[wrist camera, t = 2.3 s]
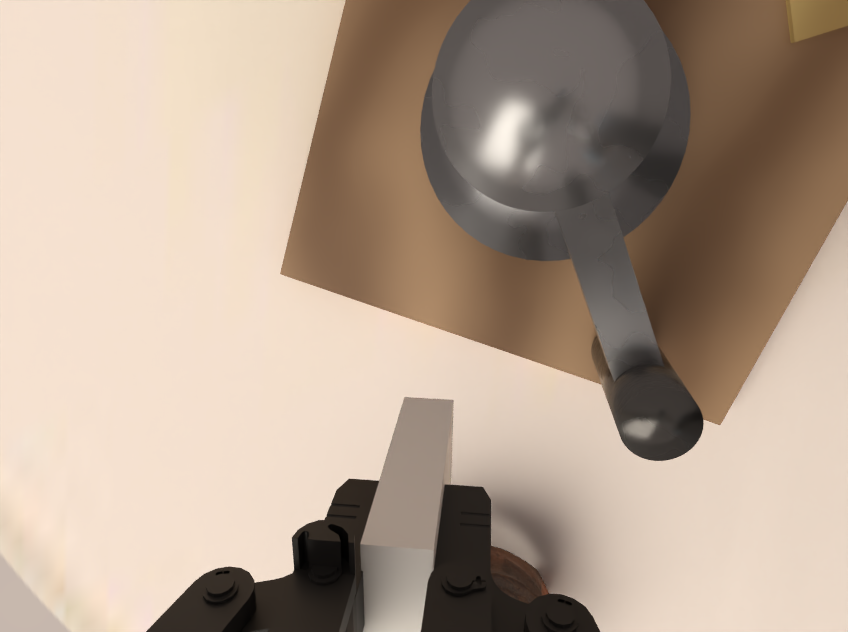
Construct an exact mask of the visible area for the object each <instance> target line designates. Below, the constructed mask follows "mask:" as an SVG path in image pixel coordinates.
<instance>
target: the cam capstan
mask: <svg viewBox="0 0 848 632" xmlns="http://www.w3.org/2000/svg"><path fill="white" fill-rule="evenodd" d="M690 117H691V111H690V95H689V90H688V85H687V80H686V76H685V73H684V70H683V67H682V64H681V61H680V59H679V57H678V55H677V53H676V51H675V49H674V47H673V45H672V43H671V42H670V40H669V39H668V38H667V36H666V35H665V33H664V32H663V31H662V29H661V27H660V25H659V23H658V21H657V19H656V17H655V15H654V14H653V12H652V11H651V9H650V8H649V7H648V5H647V4H646V2H645V1H644V0H471V1H470V2H469V3H467V5H466V6H465V7H464V8H463V10H462V11H461V12H460V13H459V15H458V16H457V17H456V19H455V21H454V22H453V24H452V25H451V27H450V29H449V30H448V32H447V34H446V36H445V39H444V41H443V43H442V45H441V48H440V51H439V54H438V57H437V60H436V64H435V69H434V71H433V73H432V75H431V78H430V80H429V84H428V87H427V90H426V93H425V96H424V102H423V107H422V112H421V126H420V136H421V150H422V155H423V161H424V166H425V169H426V172H427V175H428V178H429V181H430V183H431V186H432V188H433V190H434V192H435V194H436V196H437V198H438V199H439V201H440V203H441V204H442V206H443V207H444V209H445V210H446V212H447V213H448V214H449V215H450V216H451V218H452V219H453V220H454V221H455V222H456V223H457V224H458V225H459V226H460V227H461V228H462V229H463V230H464V231H465V232H467V233H468V234H469V235H470V236H472V237H473V238H475V239H476V240H477V241H479V242H480V243H482V244H484V245H486V246H488V247H490V248H492V249H493V250H495V251H498V252H501V253H504V254H506V255H509V256H513V257H517V258H521V259H526V260H536V261H560V260H566V259H571V261H572V264H573V267H574V270H575V273H576V276H577V278H578V281H579V284H580V287H581V290H582V293H583V296H584V299H585V302H586V305H587V307H588V310H589V313H590V316H591V319H592V322H593V325H594V328H595V331H596V334H597V335H596V336H595V338H594V340H593V343H592V347H591V355H592V359H593V362H594V365H595V367H596V370H597V373H598V376H599V379H600V381H601V384H602V387H603V390H604V392H605V395H606V398H607V401H608V403H609V406H610V409H611V412H612V415H613V417H614V420H615V423H616V426H617V428H618V431H619V434H620V437H621V439H622V441H623V443H624V444H625V446H626V447H627V448H628V449H629V450H630V451H631V452H633V453H634V454H635V455H637V456H639V457H642V458H644V459H648V460H654V461H663V460H670V459H674V458H677V457H679V456H681V455H683V454H685V453H686V452H688V451H689V450H690V449H691V448H692V447H693V446H694V445H695V444H696V443H697V442H698V440H699V438H700V436H701V434H702V430H703V415H702V412H701V410H700V408H699V406H698V405H697V403H696V402H695V400H694V399H693V397H692V396H691V394H690V393H689V391H688V389H687V388H686V386H685V385H684V383H683V382H682V380H681V379H680V377H679V376H678V374H677V373H676V371H675V370H674V368H673V367H672V365H671V364H670V362H669V361H668V359H667V358H666V356H665V355H664V353H663V352H662V350H661V349H660V347H659V346H658V344H657V342H656V339H655V336H654V333H653V330H652V326H651V323H650V320H649V317H648V314H647V311H646V307H645V304H644V301H643V298H642V295H641V292H640V289H639V285H638V282H637V279H636V276H635V273H634V270H633V266H632V263H631V260H630V257H629V254H628V251H627V248H626V244H625V241H624V238H623V237H625V236H626V235H627V234H629V233H630V232H632V231H633V230H634V229H636V228H637V227H638V226H639V225H640V224H641V223H642V222H643V221H644V220H645V219H646V218H647V217H648V216H650V214H651V213H652V212H653V211H654V210H655V208H656V207H657V206H658V205H659V204H660V202H661V201H662V200H663V198H664V197H665V195H666V193H667V192H668V190H669V189H670V187H671V186H672V184H673V182H674V180H675V177H676V175H677V173H678V171H679V169H680V166H681V163H682V160H683V157H684V155H685V152H686V147H687V142H688V137H689V131H690Z"/></svg>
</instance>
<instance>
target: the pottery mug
mask: <svg viewBox="0 0 848 632" xmlns="http://www.w3.org/2000/svg"><path fill="white" fill-rule="evenodd" d="M491 575H492V578H493V580H494V582H495V584H496V585H497V586H498V587H499V589H500V590H501V591H503V592H504V593H505V594H507V595H508V596H510V597H512V598H514V599H516V600H519V601H522V602H524V603H527V604H529V603H530V602H532V601H533V600H534V599H535V598H537V597H539V596H543V595H546V594H549V593H548V591H547V589H546V586H545V584H544V582H543V580H542V578H541V576H540V574H539V572H538V571H537V569H535V568H534V567H532V566H531V565H530V564H528V563H527V562H526V561H524V560H522V559H521V558H519V557H517V556H515V555H513V554H512V553H510V552H508V551H505V550H503V549H501V548H497V547H493V546H491Z"/></svg>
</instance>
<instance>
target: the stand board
mask: <svg viewBox="0 0 848 632" xmlns="http://www.w3.org/2000/svg"><path fill="white" fill-rule="evenodd" d="M470 1H471V0H346V2H345V6H344V10H343V14H342V18H341V22H340V27H339V31H338V35H337V39H336V43H335V47H334V52H333V56H332V60H331V64H330V68H329V72H328V77H327V81H326V85H325V89H324V93H323V97H322V102H321V106H320V110H319V114H318V118H317V122H316V127H315V131H314V135H313V139H312V143H311V147H310V152H309V156H308V160H307V164H306V168H305V172H304V177H303V181H302V185H301V189H300V193H299V198H298V202H297V206H296V210H295V214H294V218H293V223H292V227H291V231H290V235H289V239H288V243H287V248H286V252H285V256H284V260H283V264H282V268H281V273H280V274H282V275H284V276H287V277H290V278H293V279H296V280H299V281H302V282H305V283H308V284H311V285H314V286H317V287H319V288H322V289H325V290H328V291H331V292H334V293H337V294H340V295H343V296H346V297H349V298H351V299H354V300H357V301H360V302H363V303H366V304H369V305H372V306H375V307H378V308H381V309H383V310H386V311H389V312H392V313H395V314H398V315H401V316H404V317H407V318H410V319H413V320H415V321H418V322H421V323H424V324H427V325H430V326H433V327H436V328H439V329H442V330H445V331H447V332H450V333H453V334H456V335H459V336H462V337H465V338H468V339H471V340H474V341H477V342H480V343H482V344H485V345H488V346H491V347H494V348H497V349H500V350H503V351H506V352H509V353H512V354H514V355H517V356H520V357H523V358H526V359H529V360H532V361H535V362H538V363H541V364H544V365H546V366H549V367H552V368H555V369H558V370H561V371H564V372H567V373H570V374H573V375H576V376H578V377H581V378H584V379H587V380H590V381H593V382H596V383H599V384H601V381H600V379H599V376H598V373H597V370H596V367H595V365H594V362H593V359H592V355H591V347H592V343H593V340H594V338H595V336H596V335H597V334H596V331H595V328H594V325H593V322H592V319H591V316H590V313H589V310H588V307H587V305H586V302H585V299H584V296H583V293H582V290H581V287H580V284H579V281H578V278H577V276H576V273H575V270H574V267H573V264H572V261H571V259H566V260H560V261H536V260H526V259H521V258H517V257H513V256H509V255H506V254H504V253H501V252H498V251H495V250H493V249H492V248H490V247H488V246H486V245H484V244H482V243H480V242H479V241H477V240H476V239H475V238H473V237H472V236H470V235H469V234H468V233H467V232H465V231H464V230H463V229H462V228H461V227H460V226H459V225H458V224H457V223H456V222H455V221H454V220H453V219H452V218H451V216H450V215H449V214H448V213H447V212H446V210H445V209H444V207H443V206H442V204H441V203H440V201H439V199H438V198H437V196H436V194H435V192H434V190H433V188H432V186H431V183H430V181H429V178H428V175H427V172H426V169H425V166H424V161H423V155H422V150H421V136H420V126H421V112H422V107H423V102H424V96H425V93H426V90H427V87H428V84H429V80H430V78H431V75H432V73H433V71H434V69H435V64H436V60H437V57H438V54H439V51H440V48H441V45H442V43H443V41H444V39H445V36H446V34H447V32H448V30H449V29H450V27H451V25H452V24H453V22H454V21H455V19H456V17H457V16H458V15H459V13H460V12H461V11H462V10H463V8H464V7H465V6H466V5H467V3H469V2H470ZM644 1H645V2H646V4H647V5H648V7H649V8H650V9H651V11H652V12H653V14H654V15H655V17H656V19H657V21H658V23H659V25H660V27H661V29H662V31H663V32H664V33H665V35H666V36H667V38H668V39H669V40H670V42H671V43H672V45H673V47H674V49H675V51H676V53H677V55H678V57H679V59H680V61H681V64H682V67H683V70H684V73H685V76H686V80H687V85H688V90H689V95H690V111H691V117H690V131H689V137H688V142H687V147H686V152H685V155H684V157H683V160H682V163H681V166H680V169H679V171H678V173H677V175H676V177H675V180H674V182H673V184H672V186H671V187H670V189H669V190H668V192H667V193H666V195H665V197H664V198H663V200H662V201H661V202H660V204H659V205H658V206H657V207H656V208H655V210H654V211H653V212H652V213H651V214H650V216H648V217H647V218H646V219H645V220H644V221H643V222H642V223H641V224H640V225H639V226H638V227H637V228H636V229H634V230H633V231H632V232H630V233H629V234H627V235H626V236H625V237H623V238H624V241H625V244H626V248H627V251H628V254H629V257H630V260H631V263H632V266H633V270H634V273H635V276H636V279H637V282H638V285H639V289H640V292H641V295H642V298H643V301H644V304H645V307H646V311H647V314H648V317H649V320H650V323H651V326H652V330H653V333H654V336H655V339H656V342H657V344H658V346H659V347H660V349H661V350H662V352H663V353H664V355H665V356H666V358H667V359H668V361H669V362H670V364H671V365H672V367H673V368H674V370H675V371H676V373H677V374H678V376H679V377H680V379H681V380H682V382H683V383H684V385H685V386H686V388H687V389H688V391H689V393H690V394H691V396H692V397H693V399H694V400H695V402H696V403H697V405H698V406H699V408H700V410H701V412H702V415H703V419H704V420H707V421H709V422H712V423H715V424H718V425H720V424H721V423H722V421H723V419H724V417H725V416H726V414H727V412H728V410H729V409H730V407H731V405H732V403H733V402H734V400H735V398H736V396H737V394H738V393H739V391H740V389H741V387H742V386H743V384H744V382H745V380H746V379H747V377H748V375H749V373H750V372H751V370H752V368H753V366H754V365H755V363H756V361H757V359H758V357H759V356H760V354H761V352H762V350H763V349H764V347H765V345H766V343H767V342H768V340H769V338H770V336H771V335H772V333H773V331H774V329H775V328H776V326H777V324H778V322H779V320H780V319H781V317H782V315H783V313H784V312H785V310H786V308H787V306H788V305H789V303H790V301H791V299H792V298H793V296H794V294H795V292H796V291H797V289H798V287H799V285H800V283H801V282H802V280H803V278H804V276H805V275H806V273H807V271H808V269H809V268H810V266H811V264H812V262H813V261H814V259H815V257H816V255H817V254H818V252H819V250H820V248H821V246H822V245H823V243H824V241H825V239H826V238H827V236H828V234H829V232H830V231H831V229H832V227H833V225H834V224H835V222H836V220H837V218H838V217H839V215H840V213H841V211H842V209H843V208H844V206H845V204H846V202H847V201H848V0H644Z"/></svg>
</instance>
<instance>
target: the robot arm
mask: <svg viewBox="0 0 848 632" xmlns="http://www.w3.org/2000/svg"><path fill="white" fill-rule="evenodd" d="M452 434H453V400H443V399H426V398H409V397H404V401H403V404H402V407H401V411H400V414H399V417H398V421H397V424H396V427H395V431H394V434H393V437H392V440H391V444H390V447H389V450H388V454H387V457H386V460H385V464H384V467H383V470H382V474H381V477H380V480H379V481H373V480H359V479H348V480H347V481H346V482H345V483H344V484H343V485H342V486H341V487H339V488H338V489H337V491H336V493H335V496H334V498H333V501H332V503H331V506H330V508H329V510H328V513H327V517H326V518H325V520H318V521H315V522H312V523H309V524H306V525H305V526H303V527H302V528H300V529H299V530H297V532H296V533H295V534H294V536H293V537H292V545H293V559H294V572H293V573H292V574H290V575H288V576H285V577H283V578H279V579H275V580H269V581H263V582H257V583H254V579H253V578H252V576H251V574H250V573H249V572H247V571H245V570H243V569H242V568H236V567H224V568H218V569H215V570H212V571H210V572H208V573H205V574H204V575H202V576H201V577H200V578H199V579H197V580H196V581H195V582H194V583H193V584H192V585H191V586H190V587H189V588H188V589H187V590H186V591H185V592H184V593H183V594H182V595H181V596H180V597H179V598H178V599H177V600H176V601H175V602H174V603H173V604H172V605H171V606H170V608H169V609H168V610H167V611H166V612H165V613H164V614H163V615H162V616H161V617H160V618H159V619H158V620H157V621H156V622H155V623H154V624H153V625H152V626H151V627H150V628H149V629H148V630H147V631H146V632H600V631H599V628H598V626H597V624H596V622H595V620H594V618H593V616H592V615H591V614H590V612H589V611H588V610H587V608H586V607H585V606H584V605H582V604H581V603H579V602H578V601H576V600H575V599H573V598H570V597H567V596H564V595H560V594H546V595H543V596H539V597H537V598H535V599H534V600H533V601H532V602H530V603H529V604H527V603H524V602H522V601H519V600H516V599H514V598H512V597H510V596H508V595H507V594H505V593H504V592H503V591H501V590H500V589H499V587H498V586H497V585H496V584H495V582H494V580H493V578H492V575H491V499H490V498H489V496H488V495H487V493H486V491H485V490H484V488H483V487H474V486H460V485H450V483H451V467H452Z"/></svg>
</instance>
